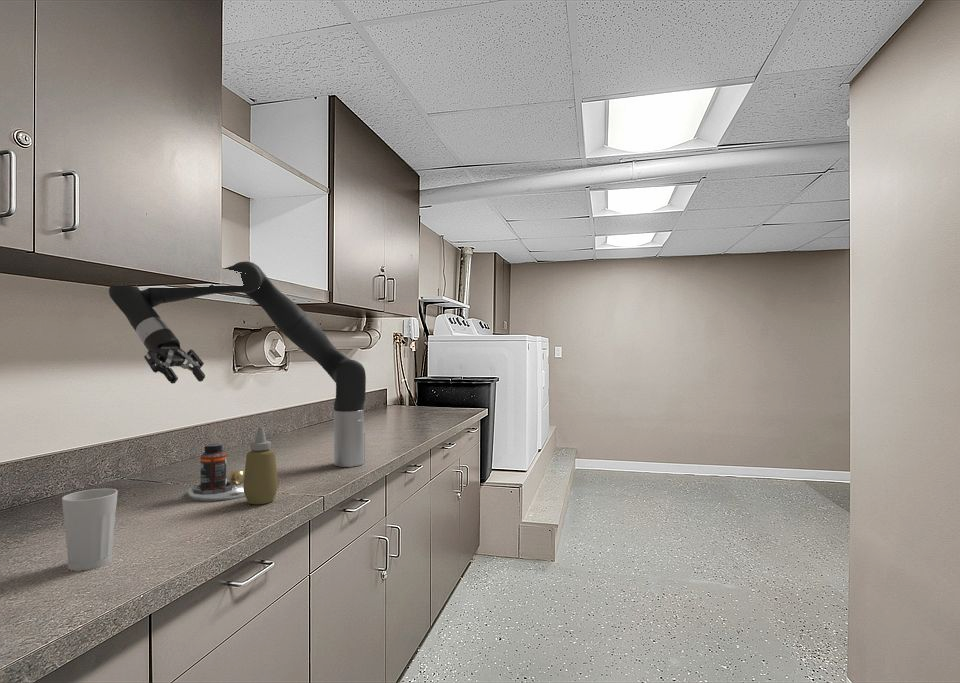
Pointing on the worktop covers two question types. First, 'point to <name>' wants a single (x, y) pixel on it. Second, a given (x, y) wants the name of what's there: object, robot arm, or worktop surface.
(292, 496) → the worktop surface
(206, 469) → the supplement bottle
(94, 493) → the cup
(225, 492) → the carrier disc
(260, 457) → the squeeze bottle
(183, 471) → the worktop surface
